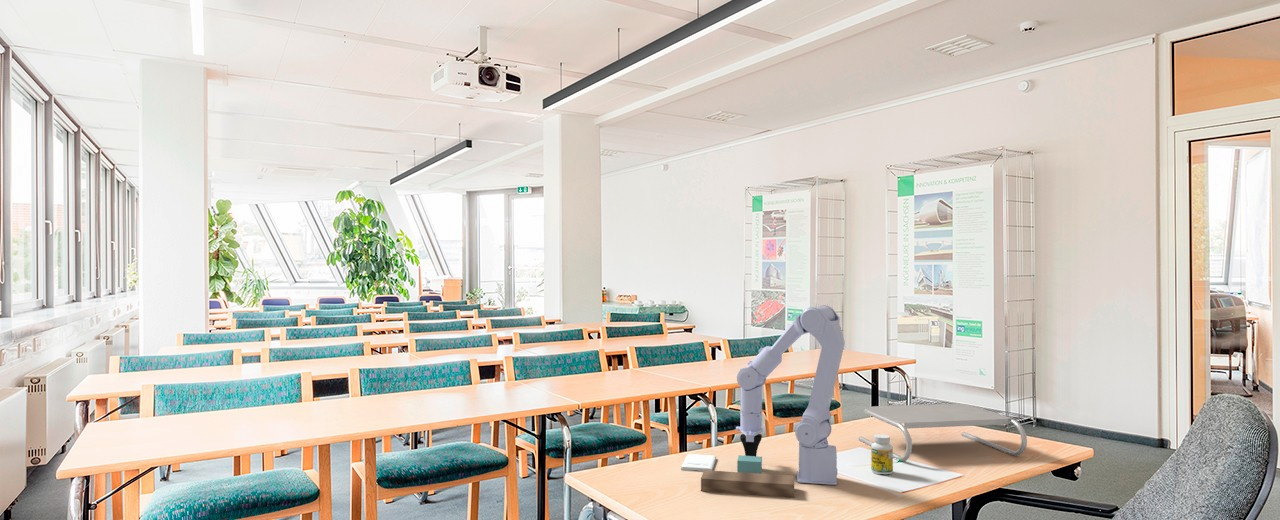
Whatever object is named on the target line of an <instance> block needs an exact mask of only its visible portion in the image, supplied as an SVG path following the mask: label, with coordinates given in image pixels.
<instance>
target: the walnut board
mask: <svg viewBox="0 0 1280 520" xmlns="http://www.w3.org/2000/svg"><path fill="white" fill-rule="evenodd" d="M700 492H710V493H711V492H712V493H724V494H737V495H738V494H739V495H751V496H767V497H769V496H770V497H780V498H781V497H783V498H784V497H785V498H795V476H794V475H790V474H789V475H787V474H770V473H762V474H758V473H742V472H737V471H723V470H712V471H711V470H704V472H703V471H702V474H701V477H700Z"/></svg>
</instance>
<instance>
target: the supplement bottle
mask: <svg viewBox="0 0 1280 520" xmlns="http://www.w3.org/2000/svg"><path fill="white" fill-rule="evenodd" d="M873 441H874V442H873V444H872V445H871V446H870V450H871V453H870V455H871V456H870V457H871V458H870V460H871V461H870V463H871V465H870V466H871V467H870V468H871V470H870V471H871V472H872V473H873V472H874V473H873V474H875V473H877V474H876V475H878V474H891V475H892V474H893V472H894V470H893V469H894V461H893V459H894V458H893V453H894V452H893V451H894V450H893V445H892V444H891V443H890V442H891V437H890V436H889V435H888V434H880V433H879V434H874V435H873Z"/></svg>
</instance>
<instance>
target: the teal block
mask: <svg viewBox="0 0 1280 520" xmlns="http://www.w3.org/2000/svg"><path fill="white" fill-rule="evenodd" d="M736 467H737V469H736V470H737V471H736V472H742V473H758V474H763V473H762V472H763V468H762V467H763V456H757V455H756V456H745V455H738V456H737V466H736Z"/></svg>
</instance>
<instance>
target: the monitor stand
mask: <svg viewBox="0 0 1280 520" xmlns="http://www.w3.org/2000/svg"><path fill="white" fill-rule="evenodd" d="M864 413H865V414H866V415H868V416H869V417H870V416H871V417H872V418H874V419H877V420H879V421H882V422H884V423H886V424H888V425H891V426H893V427H895V428H898V429H899V430H901V432H902V434H903V436H904V440H905V444H906V448H905V453H904V455H902V456H901V455H899V454H897V453H895V452H893V459H894V458H896V459H899V460H901V461H900V462H906V461H908V460H909V458H910V457H911V454H912V451H913V441H912V438H911V435H910V433H909V431H908V429H926V428H927V429H928V428H948V427H949V428H954V427H977V426H978V427H979V426H1002V425H1003V426H1005V425H1009V424H1012V425H1013V426H1015V427H1016V429H1017V430H1018V432H1019V435H1020V439H1021V443H1020V445H1019V448H1018V449H1017V450H1012V449H1009V448H1007V447H1005V446H1003V445H1000V444H997V443H994V442H992V441H989V440H986V439H983V438H981V437H978V436H976V435H973V434H970V433H968V432H965V431H963V432H961V436H962V437H965V438H967V439H969V440H971V441H975V442H977V443H980V444H983V445H984V444H985V446H987V447H990V448H992V447H993V448H992V449H995V450H997V449H998V451H1000V450H1001V451H1000V452H1002V451H1003V452H1002V453H1004V452H1006V454H1007V453H1008V455H1010V454H1011V455H1010V456H1013V455H1014V456H1016V457H1017V456H1020V455H1022V454H1023V453H1024V452H1025V451H1026V448H1027V445H1028V438H1027V433H1026V431H1025V428H1024V427H1023V426H1022V424H1021V423H1020V422H1019V421H1018V420H1016V419H1014V418H1012V417H1008V416H1006V415H1002V414H1000V413H997V412H994V411H990V410H987V409H985V408H980V407H978V406H974V405H970V404H965V403H934V404H933V403H932V404H930V403H929V404H908V405H907V404H904V405H879V406H877V405H875V406H869V407H866V408H865V409H864ZM858 441H859V442H860V443H861V442H862V443H863V444H865V445H867V446H869V447H871V445H872V444H873V443H874V442H873V441H872V440H870V439H867V438H865V437H864V436H859V437H858ZM896 459H895V460H896Z"/></svg>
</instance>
